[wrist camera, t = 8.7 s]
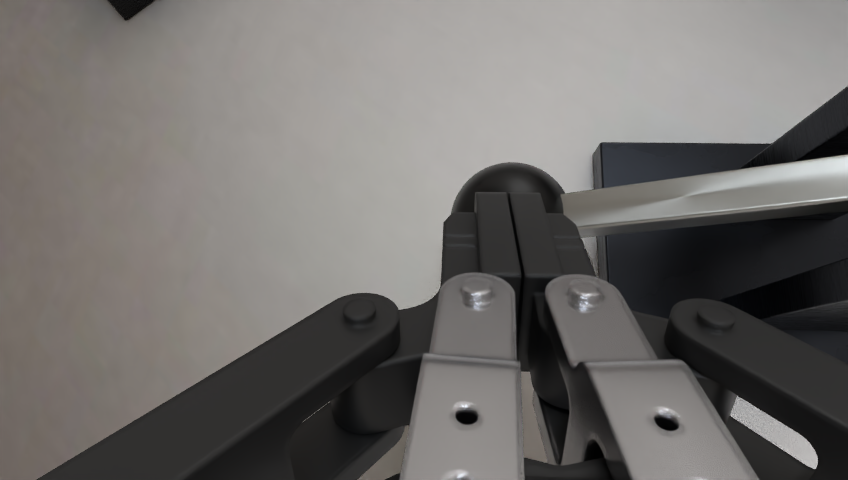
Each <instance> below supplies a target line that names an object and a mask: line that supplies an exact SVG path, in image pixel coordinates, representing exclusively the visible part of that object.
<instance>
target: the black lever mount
mask: <svg viewBox="0 0 848 480" xmlns="http://www.w3.org/2000/svg"><path fill="white" fill-rule="evenodd" d="M845 154H848V86H847V87H846V88H845V89H843V90H842V91H841V92H839V93H838V94H837V95H835V96H834V97H833V98H832V99H830V100H829V101H828V102H826V103H825V104H824V105H822V106H821V107H820V108H818V109H817V110H816V111H814V112H813V113H812V114H810V115H809V116H808V117H806V118H805V119H804V120H803V121H801V122H800V123H799V124H797V125H796V126H795V127H793V128H792V129H791V130H789V131H788V132H787V133H785V134H784V135H783V136H781V137H780V138H779V139H778V140H776V141H775V142H774V143H772V144H725V143H607V142H602V143H600V144H599V146H598V147H597V149H596V151H595V152H594V154H593V166H594V186H595V189H601V188H608V187H616V186H623V185H630V184H637V183H644V182H652V181H659V180H666V179H673V178H680V177H687V176H695V175H702V174H709V173H716V172H723V171H731V170H738V169H745V168H752V167H759V166H766V165H774V164H781V163H788V162H795V161H802V160H810V159H817V158H824V157H831V156H838V155H845ZM597 245H598V265H599V278H600V279H602V280H605V281H607V282H608V283H610V284H612V285H613V286H615V287H616V288H617V289H618V290H619V291H620V293H621V294H622V296H623V298H624V300H625V301H626V303H627V305H628V307H629V308H630V310H633V311H636V312H640V313H644V314H649V315H653V316H658V317H663V318H667V319H669V316H670V312H671V309H672V307H673V306H674V305H675V304H676V303H678V302H680V301H682V300H686V299H693V298H702V299H710V300H716V301H720V302H723V303H726V304H729V305H731V306H733V307H736V308H738V309H740V310H742V311H744V312H746V313H748V314H750V315H752V316H754V317H756V318H758V319H760V320H761V321H763V322H765V323H767V324H769V325H771V326H773V327H775V328H777V329H779V330H781V331H783V332H785V333H787V334H789V335H791V336H793V337H795V338H797V339H799V340H801V341H803V342H805V343H807V344H809V345H811V346H813V347H815V348H817V349H819V350H821V351H823V352H825V353H827V354H829V355H831V356H833V357H835V358H837V359H839V360H841V361H843V362H845V363H847V364H848V211H845V212H835V213H825V214H815V215H805V216H795V217H785V218H775V219H765V220H755V221H745V222H735V223H725V224H715V225H705V226H695V227H685V228H675V229H665V230H655V231H645V232H635V233H624V234H614V235H604V236H597Z"/></svg>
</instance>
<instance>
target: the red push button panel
mask: <svg viewBox="0 0 848 480" xmlns="http://www.w3.org/2000/svg"><path fill="white" fill-rule="evenodd" d="M108 1H109V2H110V3H111V5H112V6H113V7H114V8H115V9H116V10H117V11H118V12H119V14H120V15H121V16H122V17H123V18H124V19H125V20H127V19H128V18H130V17H131V16H133V15H134V14H135V13H137V12H138V11H140V10H141V9H142V8H144V7H145V6H147V5H148V4H149V3H151V2H152V1H153V0H108Z"/></svg>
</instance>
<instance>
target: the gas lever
mask: <svg viewBox="0 0 848 480" xmlns="http://www.w3.org/2000/svg"><path fill="white" fill-rule="evenodd" d="M475 192H506V193H507V196H508V193H509V192H511V193H540V194H541V197H542V200H543V204H544V207H545V210H546V213H563V214H564V215H565V216H566V217H568V218H569V219H570V220H571V221H572V222H574V223H575V224H576V226H577V229H578V231H579V234H580V236H581V238H584V237H594V236H604V235H614V234H624V233H635V232H645V231H655V230H665V229H675V228H685V227H695V226H705V225H715V224H725V223H735V222H745V221H755V220H765V219H775V218H785V217H795V216H805V215H815V214H825V213H835V212H845V211H848V154H845V155H838V156H831V157H824V158H817V159H810V160H802V161H795V162H788V163H781V164H774V165H766V166H759V167H752V168H745V169H738V170H731V171H723V172H716V173H709V174H702V175H695V176H687V177H680V178H673V179H666V180H659V181H652V182H644V183H637V184H630V185H623V186H616V187H608V188H601V189H594V190H587V191H580V192H573V193H565V192H564V191H563V189H562V187H561V186H560V185H559V184H558V182H557V181H556V180H554V179H553V178H552V177H551V176H550V175H549V174H547V173H546V172H544V171H543V170H541V169H538V168H536V167H534V166H531V165H528V164H523V163H511V162H508V163H501V164H497V165H493V166H490V167H487V168H485V169H483V170H481V171H480V172H478V173H477V174H475V175H474V176H473V177H471V178H470V179H469V180H468V181H467V182H466V183H465V184H464V186H463V187H462V188H461V190H460V191H459V193H458V195H457V197H456V199H455V201H454V204H453V207H452V211H451V214H452V213H453V212H474V206H475Z"/></svg>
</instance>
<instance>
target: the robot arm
mask: <svg viewBox="0 0 848 480" xmlns="http://www.w3.org/2000/svg"><path fill="white" fill-rule="evenodd" d="M521 371H525V372H530V375H531V381H532V385H533V388H534V391H533V406H534V410H535V414H536V418H537V422H538V426H539V430H540V433H541V437H542V441H543V445H544V449H545V453H546V457H547V461H548V463H544V462H540V461H536V460H532V459H528V458H524V450H523V421H522V391H521ZM737 395H738V396H739V397H741V398H742V399H744V400H746V401H747V402H749V403H751V404H752V405H754V406H755V407H757V408H759V409H760V410H762V411H763V412H765V413H767V414H768V415H770V416H772V417H773V418H775V419H776V420H778V421H780V422H781V423H783V424H785V425H786V426H788V427H789V428H791V429H793V430H794V431H796V432H798V433H799V434H800V435H802V436H803V437H804V438H806V439H807V440H808V441H809V442H810V444H811V445H812V446H813V448H814V449H815V451H816V454H817V456H818V465H817V468H816V470H815V469H812V468H810V467H808V466H806V465H805V464H803V463H802V462H800V461H798V460H797V459H795V458H794V457H792V456H791V455H789V454H788V453H786V452H785V451H783V450H782V449H780V448H778V447H777V446H775V445H774V444H772V443H771V442H769V441H768V440H766V439H765V438H763V437H762V436H760V435H758V434H757V433H755V432H754V431H752V430H751V429H749V428H748V427H746V426H745V425H743V424H742V423H740V422H738V421H737V420H735V419H734V418H732V417H731V416H730V413H731V410H732V408H733V405H734V402H735V400H736V397H737ZM329 401H330V402H329ZM328 402H329V403H328ZM327 403H328V404H327ZM325 404H327V405H325ZM324 405H325V406H324ZM323 406H324V407H323ZM321 407H323V408H321ZM320 408H321V409H320ZM319 409H320V410H319ZM317 410H319V411H317ZM316 411H317V412H316ZM315 412H316V413H315ZM313 413H315V414H313ZM312 414H313V415H312ZM311 415H312V416H311ZM309 416H311V417H309ZM308 417H309V418H308ZM307 418H308V419H307ZM305 419H307V420H305ZM304 420H305V421H304ZM303 421H304V422H303ZM302 422H303V423H302ZM406 425H410V426H409V431H408V436H407V442H406V447H405V452H404V457H403V463H402V468H401V473H399V474H396V475H394V476H392V477H390V478H387V479H385V480H848V364H847V363H845V362H843V361H841V360H839V359H837V358H835V357H833V356H831V355H829V354H827V353H825V352H823V351H821V350H819V349H817V348H815V347H813V346H811V345H809V344H807V343H805V342H803V341H801V340H799V339H797V338H795V337H793V336H791V335H789V334H787V333H785V332H783V331H781V330H779V329H777V328H775V327H773V326H771V325H769V324H767V323H765V322H763V321H761V320H760V319H758V318H756V317H754V316H752V315H750V314H748V313H746V312H744V311H742V310H740V309H738V308H736V307H733V306H731V305H729V304H726V303H723V302H720V301H716V300H710V299H702V298H693V299H686V300H682V301H680V302H678V303H676V304H675V305H674V306H673V307H672V309H671V312H670V316H669V319H667V318H663V317H658V316H653V315H649V314H644V313H640V312H636V311H633V310H630V308H629V307H628V305H627V303H626V301H625V300H624V298H623V296H622V294H621V293H620V291H619V290H618V289H617V288H616V287H615V286H613V285H612V284H610V283H608V282H607V281H605V280H602V279H600V278H597V277H596V275H595V272H594V270H593V267H592V265H591V262H590V259H589V257H588V254H587V252H586V249H584V244H583V241H582V239H581V236H580V234H579V231H578V229H577V226H576V224H575V223H574V222H572V221H571V220H570V219H569V218H568V217H566V216H565V215H564V214H563V213H546V210H545V207H544V204H543V200H542V197H541V194H540V193H511V192H509V193H508V196H507V193H506V192H475V206H474V212H453V213H452V214H451V215H450V216H449V217H448V218H447V219H446V220H445V222H444V227H443V250H442V273H441V287H440V289H439V291H438V293H437V294H436V295H435V296H434V297H433V298H432V299H430V300H429V301H427V302H426V303H424V304H421V305H419V306H416V307H412V308H408V309H403V310H398V307H397V306H396V304H395V303H394V302H392V301H391V300H390V299H388V298H386V297H384V296H381V295H377V294H372V293H357V294H351V295H347V296H344V297H341V298H338V299H337V300H335V301H333V302H331V303H330V304H328V305H326V306H325V307H323V308H321V309H320V310H318V311H316V312H315V313H313V314H311V315H310V316H308V317H306V318H305V319H303V320H301V321H300V322H298V323H296V324H295V325H293V326H291V327H290V328H288V329H286V330H285V331H283V332H281V333H280V334H278V335H276V336H275V337H273V338H271V339H270V340H268V341H266V342H265V343H263V344H261V345H260V346H258V347H256V348H255V349H253V350H251V351H250V352H248V353H246V354H245V355H243V356H241V357H240V358H238V359H236V360H235V361H233V362H231V363H230V364H228V365H226V366H225V367H223V368H221V369H220V370H218V371H216V372H215V373H213V374H211V375H210V376H208V377H206V378H205V379H203V380H201V381H200V382H198V383H196V384H195V385H193V386H191V387H190V388H188V389H186V390H185V391H183V392H181V393H180V394H178V395H176V396H175V397H173V398H172V399H170V400H168V401H167V402H165V403H163V404H162V405H160V406H158V407H157V408H155V409H153V410H152V411H150V412H148V413H147V414H145V415H143V416H142V417H140V418H138V419H137V420H135V421H133V422H132V423H130V424H128V425H127V426H125V427H123V428H122V429H120V430H118V431H117V432H115V433H113V434H112V435H110V436H108V437H107V438H105V439H103V440H102V441H100V442H98V443H97V444H95V445H93V446H92V447H90V448H88V449H87V450H85V451H83V452H82V453H80V454H78V455H77V456H75V457H73V458H72V459H70V460H68V461H67V462H65V463H63V464H62V465H60V466H58V467H57V468H55V469H53V470H52V471H50V472H48V473H47V474H45V475H43V476H42V477H40V478H38V479H37V480H357V479H358V478H359V477H360V476H361V475H362V474H364V473H365V472H366V471H367V470H368V469H369V468H370V467H371V466H372V465H373V464H375V463H376V462H377V461H378V460H379V459H380V458H381V457H382V456H383V455H384V454H386V453H387V452H388V451H389V450H390V449H391V448H392V447H393V446H394V445H395V444H396V443H397V442H398V441H399V440H400V438H401V437H402V434H403V432H404V426H406Z"/></svg>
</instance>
